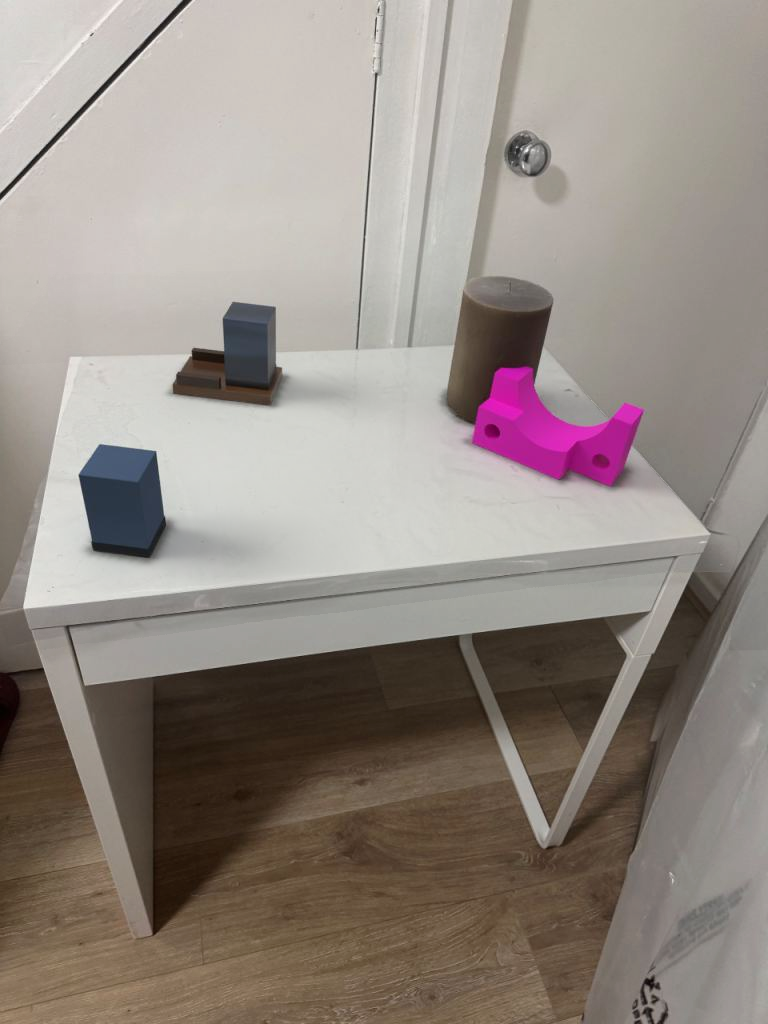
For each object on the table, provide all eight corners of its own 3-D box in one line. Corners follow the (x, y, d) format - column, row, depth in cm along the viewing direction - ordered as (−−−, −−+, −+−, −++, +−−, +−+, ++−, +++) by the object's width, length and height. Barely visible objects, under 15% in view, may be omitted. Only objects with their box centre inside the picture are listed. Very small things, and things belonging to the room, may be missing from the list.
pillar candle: (505, 437, 84) (534, 308, 74) (429, 406, 87) (448, 280, 78) (541, 402, 90) (572, 280, 81) (469, 375, 94) (490, 255, 85)
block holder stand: (270, 405, 85) (269, 329, 79) (173, 393, 85) (165, 316, 79) (282, 376, 90) (282, 302, 84) (190, 365, 90) (184, 290, 84)
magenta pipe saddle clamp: (471, 442, 82) (483, 381, 78) (498, 419, 87) (510, 360, 82) (601, 497, 77) (622, 435, 72) (622, 470, 81) (644, 409, 76)
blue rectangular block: (149, 557, 64) (138, 482, 59) (92, 550, 64) (76, 474, 59) (166, 524, 68) (157, 450, 63) (112, 517, 68) (98, 443, 63)
